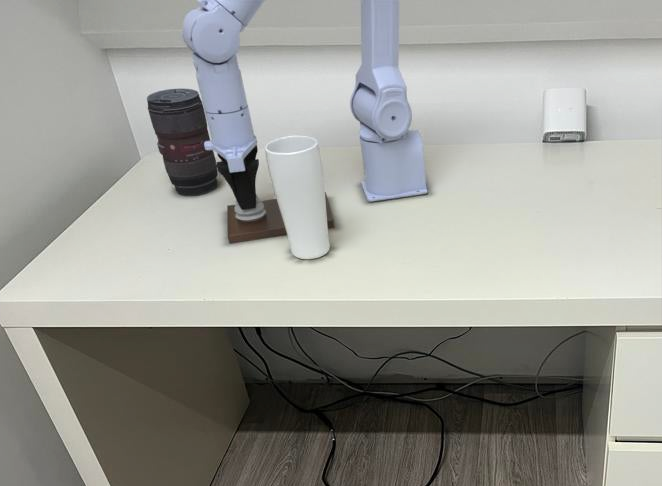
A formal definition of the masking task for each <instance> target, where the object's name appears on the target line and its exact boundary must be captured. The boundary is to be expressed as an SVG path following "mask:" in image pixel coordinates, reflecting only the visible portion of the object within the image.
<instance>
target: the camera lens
mask: <svg viewBox="0 0 662 486" xmlns="http://www.w3.org/2000/svg"><path fill="white" fill-rule="evenodd" d="M146 101H147V102H146V103H147V110H148V114H149V118H150V122H151V125H152V128H153V131H154V134H155V135H156V139H157V142H156V146H157V149H158V152H159V153H160V155H161V156H162V161H163V163H164V168H165V171H166V174H167V176H168V178H169V181H170V183H171V185H173V186H174V188H175V191H176V193H177V194H178V195H180V196H185V197H192V196H200V195H204V194H208V193H210V192H212V191H214V190H215V189H217V187H218V186H219V182H218V175H219V171H218V169H217V160H216V156H215V151H214V150H205V147H204V143H205V142H206V141H211V136H210V134H209V133H210V132H209V128H208V122H207V118H206V114H205V110H204V106H203V102H202V98H201V95H200V92H199V91H198V90H195V89H192V88H170V89H163V90H158V91H155V92H152V93H150V94H149V95H148V96H146Z"/></svg>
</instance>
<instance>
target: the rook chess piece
mask: <svg viewBox="0 0 662 486" xmlns="http://www.w3.org/2000/svg"><path fill="white" fill-rule="evenodd" d="M261 201H262V200H261V199H260V197H259V196H258V195H257V194H256V208H252V209H245V210H242V209H241V208H240V206H239V204H238V202H237V200H236V201H235V204H236V205H235V204H234V205H235V212H236V218H237V219H239V220H240V221H242V222H254V221H257V220H260V219H262V218H263V217H264V216H265V213H266V210H265V209H263V208H264V204H263V202H261Z"/></svg>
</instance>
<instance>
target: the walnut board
mask: <svg viewBox="0 0 662 486" xmlns="http://www.w3.org/2000/svg"><path fill="white" fill-rule="evenodd" d="M260 201H261V202H263V204H264V208H263V209H265V210H266V213H265V216H264V217H263V218H262V219H260V220H257V221H254V222H242V221H240V220H239V219H237V218H236V212H235V205H236V203H235V204H230V205H229V204H228V205H227V207H226V208H227V209H226V211H227V219H226V220H227V238H228V243H229V244H234V243H242V242H243V243H244V242H249V241H250V242H251V241H255V240H261V239H270V238H276V237H283V236H287V232H286V229H285V225H284V222H283V219H282V215H281V212H280V209H279V206H278V202H277V199H276V198H272V199H264V200H260ZM325 201H326V214H327V226H328V230H329V229H335V228H336V226H335V220H334V217H333V213H332V209H331V205H330V203H329V199H328V196H327V192H326V191H325Z"/></svg>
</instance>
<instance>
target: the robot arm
mask: <svg viewBox="0 0 662 486" xmlns="http://www.w3.org/2000/svg"><path fill="white" fill-rule="evenodd" d="M265 1H266V0H196V2H197V4H199V6H200V7H199V6H198V7H196V8H195V9H194V8H193V9H192V10H191V11H189V12H187V14H186V15H185V16H184V18H183V21H182V28H181V33H180V36H181V39H182V41H183V43H184V45H186V47H187V48H188V49H189V50H190V51H192V53H191V56H192V60H193V61H192V63H193V67H194V69H195V77H196V81H197V85H198V89H199V95H200V99H201V101H202V104H203V108H204V112H205V116H206V120H207V127H208V131H209V133H210V134H209V135H210V141H206V142H205V143H204V147H205V150H213V152H214V153H215V152H216V153H217V157H218V158H219V159H220V161H216V164H217V172H218V174H220V175H221V176H222V178H223V179H224V180H225V181H226V182H227V184H228V185H229V188H230V189H231V192H232V194H233V196H234V198H235V200H236V201H237V202H238V204H239V206H240V208H241V209H242V210H245V209H252V208H256V195H257V189H256V187H257V186H256V179H257V175H258V170H259V165H260V160H259V158H257V155H258V152H259V149H258V140H257V139H258V138H257V136H256V135H255V131H254V126H253V123H252V118H251V113H250V109H249V104H248V100H247V95H246V91H245V86H244V85H245V84H244V81H243V76H242V71H241V68H240V66H239V62H238V57H237V53H238V51H239V49H240V45H241V44H240V42H241V39H240V33H242V32H244V31H245V30H246V27H248V25H249V24H250V22H252V19H253V18H254V17H255V15H256V14H257V12H258V11H259V9H261V7H262V6H263V4H264V2H265ZM360 43H361V46H360V47H361V49H360V50H361V52H360V53H361V54H360V55H361V64H360V66H359V68H358V69H357V72H356V74H355V85H354V89H353V91H352V94H351V96H350V100H349V107H350V112H351V114H352V116H353V117H354V119H355V120H356V121H357V122H359V131H358V135H359V142H360V149H361V150H360V151H361V157H362V165H363V173H364V179H363V180H361V181H360V185H361V187H362V189H363V193H364V195H365V197H366V200H367V202H369V203H371V202H378V201H386V200H391V199H399V198H406V197H413V196H420V195H426V194H428V192H429V191H428V189H427V188H428V187H427V176H426V174H427V173H426V163H425V161H426V160H425V151H424V145H423V140H422V136H421V133H420V131H419V130H418V129H410V127H411V125H412V122H413V111H412V108H411V105H410V103H409V100H408V96H407V95H408V94H407V92H408V91H407V90H408V88H407V84H406V82H405V79H404V77H403V76H402V73H401V71H400V69H399V68H400V67H399V61H400V60H399V59H400V57H399V55H400V53H399V52H400V51H399V50H400V0H360Z"/></svg>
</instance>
